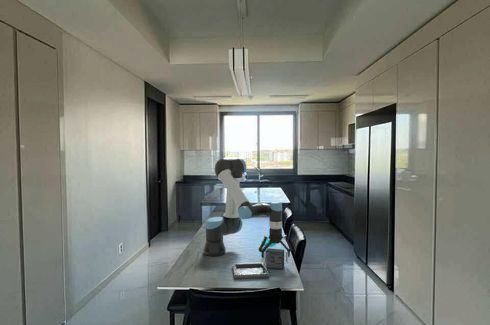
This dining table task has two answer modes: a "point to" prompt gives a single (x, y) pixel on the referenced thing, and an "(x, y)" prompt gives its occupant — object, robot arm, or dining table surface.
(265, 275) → the tray
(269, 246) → the donuts
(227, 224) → the robot arm
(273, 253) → the small box
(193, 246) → the dining table surface
